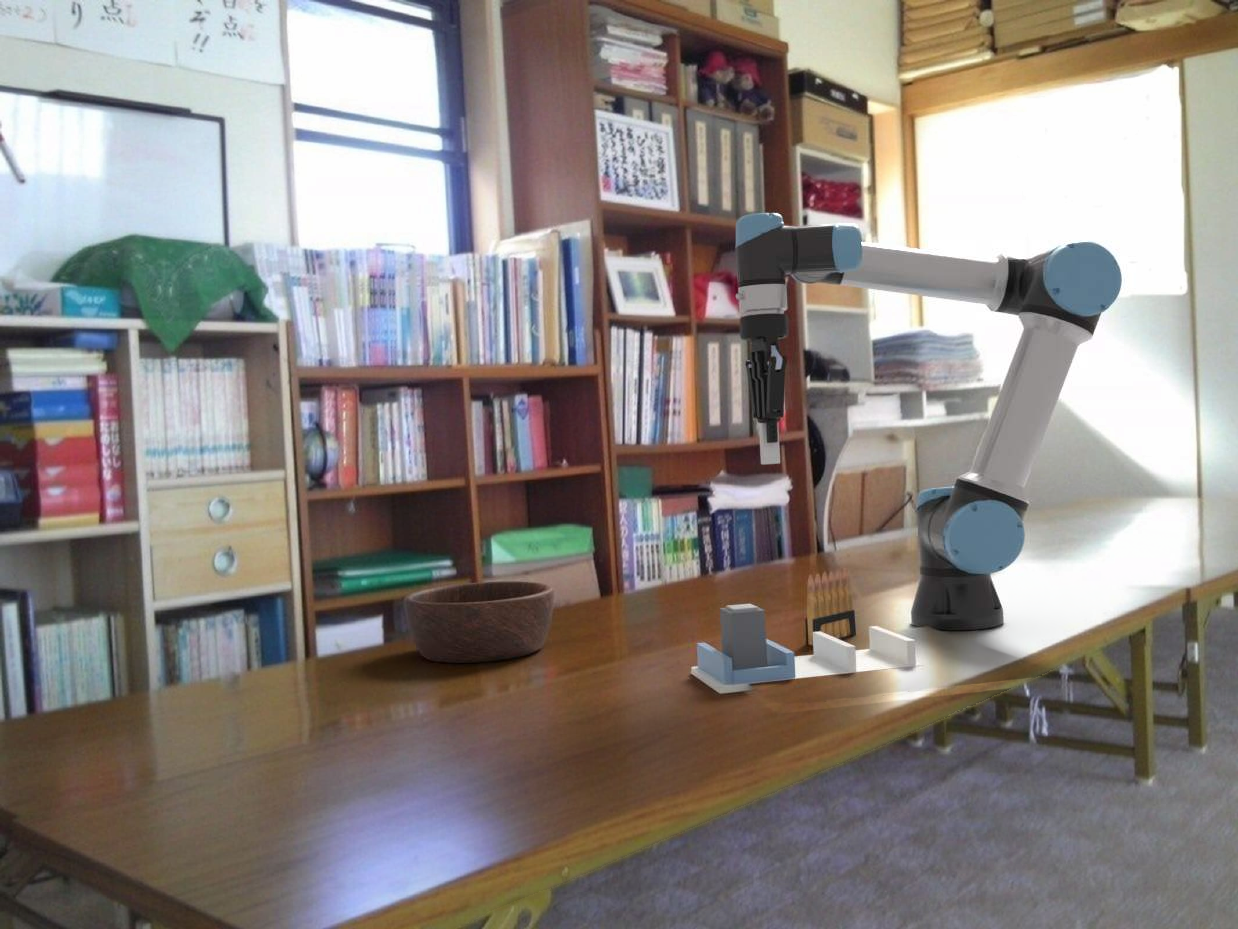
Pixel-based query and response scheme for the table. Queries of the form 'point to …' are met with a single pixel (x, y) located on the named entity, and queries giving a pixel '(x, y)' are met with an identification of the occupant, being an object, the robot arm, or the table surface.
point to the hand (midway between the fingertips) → (770, 463)
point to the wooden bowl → (480, 620)
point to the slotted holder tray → (806, 661)
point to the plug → (744, 636)
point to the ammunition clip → (830, 606)
